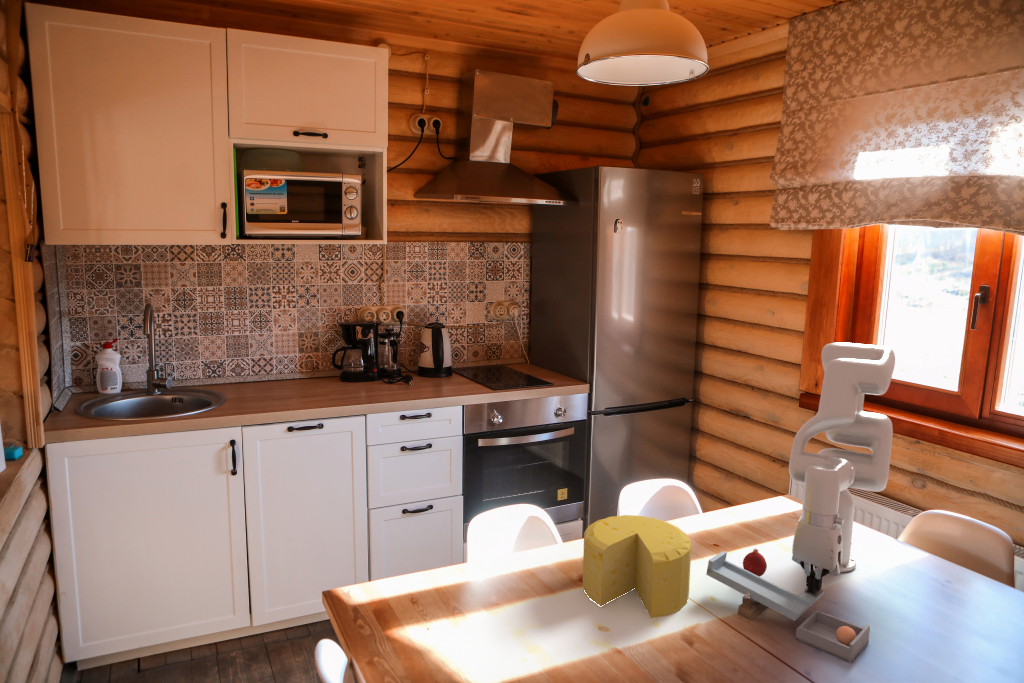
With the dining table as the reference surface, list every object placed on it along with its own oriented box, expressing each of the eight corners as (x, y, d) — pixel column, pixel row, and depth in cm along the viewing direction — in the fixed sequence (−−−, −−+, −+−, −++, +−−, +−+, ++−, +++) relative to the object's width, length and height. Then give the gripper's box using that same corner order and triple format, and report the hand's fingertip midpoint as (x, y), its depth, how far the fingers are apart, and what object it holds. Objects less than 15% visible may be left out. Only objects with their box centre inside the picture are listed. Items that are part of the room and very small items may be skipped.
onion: (767, 585, 172) (769, 555, 171) (743, 582, 173) (745, 553, 172) (763, 574, 177) (765, 545, 176) (740, 571, 179) (742, 543, 177)
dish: (814, 621, 156) (815, 605, 155) (868, 642, 147) (870, 625, 147) (795, 639, 149) (796, 622, 148) (851, 663, 140) (852, 645, 140)
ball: (841, 619, 148) (860, 628, 145) (838, 635, 149) (857, 645, 146) (834, 626, 145) (854, 636, 142) (831, 643, 146) (850, 652, 143)
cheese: (619, 628, 152) (621, 566, 150) (563, 576, 176) (565, 521, 173) (711, 604, 163) (714, 545, 160) (647, 557, 186) (649, 505, 184)
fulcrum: (757, 598, 165) (758, 581, 164) (770, 603, 163) (771, 586, 162) (737, 614, 158) (738, 596, 158) (750, 619, 156) (752, 601, 155)
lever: (738, 553, 176) (740, 540, 175) (823, 594, 161) (826, 580, 160) (703, 576, 164) (705, 562, 163) (791, 623, 149) (795, 607, 148)
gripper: (859, 522, 154) (852, 598, 157) (794, 504, 165) (788, 575, 167) (847, 531, 149) (840, 609, 152) (780, 511, 160) (775, 585, 162)
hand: (813, 591), depth 159 cm, fingers closed
